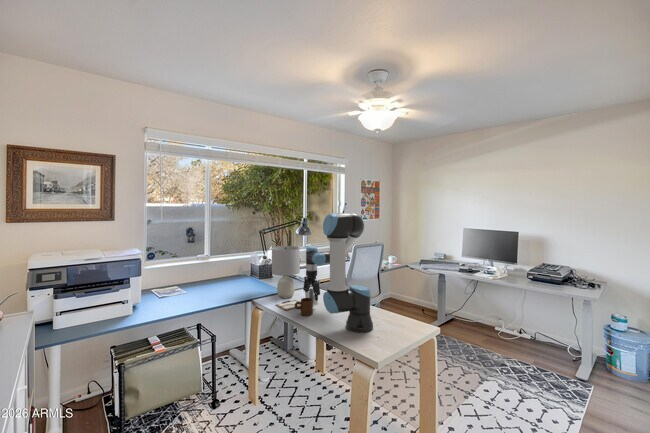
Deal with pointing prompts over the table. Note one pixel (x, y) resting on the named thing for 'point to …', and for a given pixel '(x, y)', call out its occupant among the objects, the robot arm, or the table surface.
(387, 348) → the table surface
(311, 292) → the marker
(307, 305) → the mug
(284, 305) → the clipboard
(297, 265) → the lamp
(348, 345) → the table surface
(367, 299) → the robot arm
